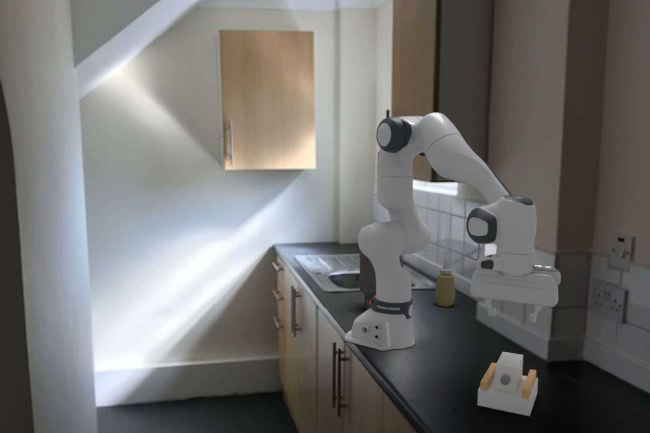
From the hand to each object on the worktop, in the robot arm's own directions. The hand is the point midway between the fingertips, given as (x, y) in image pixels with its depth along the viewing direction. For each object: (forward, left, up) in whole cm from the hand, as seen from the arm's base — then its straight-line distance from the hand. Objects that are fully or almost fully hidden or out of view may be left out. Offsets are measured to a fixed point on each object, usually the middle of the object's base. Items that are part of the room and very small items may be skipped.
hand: (511, 318), depth 138 cm
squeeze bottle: (-37, +77, -21) cm, 88 cm away
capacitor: (-59, +59, -21) cm, 86 cm away
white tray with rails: (0, 0, -21) cm, 21 cm away
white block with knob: (0, 0, -17) cm, 17 cm away
